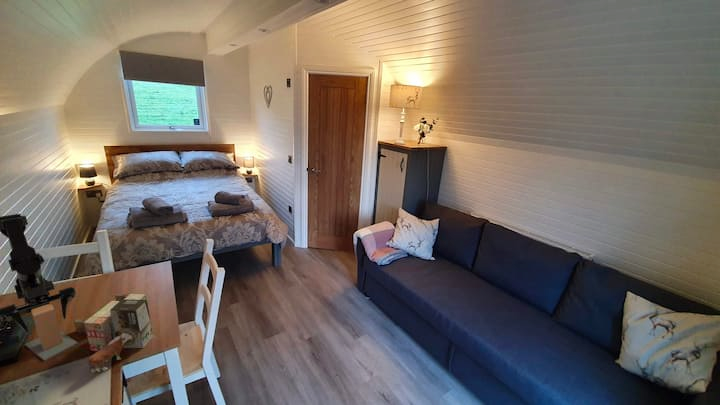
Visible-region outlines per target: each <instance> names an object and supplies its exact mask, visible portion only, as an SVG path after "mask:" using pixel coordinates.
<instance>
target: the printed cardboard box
mask: <svg viewBox="0 0 720 405" xmlns="http://www.w3.org/2000/svg"><path fill="white" fill-rule="evenodd" d="M128 295H129V296H127V297H126V298H125V299H132V300H147V295H146V294H142V293H138V294H137V293H130V294H128ZM118 302H119V301H116V300H111V301H110V302H109V303H107V304H106V305H105V306H104V307H102V308H101V309H100V310H98V311H97V312H96V313H94V314H93V315H92V316H90V317H89V318H87V319H86V320H84V321H85V322H84V325H85V329H86V333H85V334H86V337H87V340H88V345H89V350H90V351H91V352H97V351H99V350H100V349H102V348H103V347H105V346H106V345H107V344H108V343H109V342H111V341H112V340H114V339H115V338H116V335H115V331H114V327H113V322H112V318H111V314H110V310H111V309H112V308H113V307H114V306H115V305H116V304H117V303H118Z"/></svg>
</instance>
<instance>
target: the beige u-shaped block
mask: <svg viewBox="0 0 720 405" xmlns="http://www.w3.org/2000/svg"><path fill="white" fill-rule="evenodd" d="M129 295H130V294H124V293H116V294H115V295H114V298H115V301H121V300H122V299H125V298H126V297H127V296H129ZM85 321H86V320H84V319H83V320H82V319H78V318H77V319H75V320H74V321H73V324H74V328H75V332H76V333H77V332H78V333H84V334H86V329H85V325H84V322H85Z"/></svg>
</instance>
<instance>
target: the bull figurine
mask: <svg viewBox="0 0 720 405" xmlns="http://www.w3.org/2000/svg"><path fill="white" fill-rule="evenodd" d="M132 337H133V336H132V335H130V334H128V333H123V332H121V336H118V337H116V338H115V339H114V340H112V341H111V342H109V343H108V344H107V345H106V346H105V347H103V348H102V349H100V350H99V351H95V353H93V354H92V355H90V357H88V359H87V364H88V366H90V367H89V370H90V371H91V374H95V373H94V372H96V371H97V372H98V373H99V372H101V370H103V371H104V372H105V371H107V370H106V369H107V367H108V366H107V367H106V366H105V365H104V363H105V362H108V361H109V360H110V359H112V358H113V357H114V356H115V357H116V361H121V360H122V357H120V356H121V352H122V349H123V348H122V346H123V345H124V342H126V341H127V340H128V339H132ZM103 371H102V372H103ZM97 372H96V373H97Z"/></svg>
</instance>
